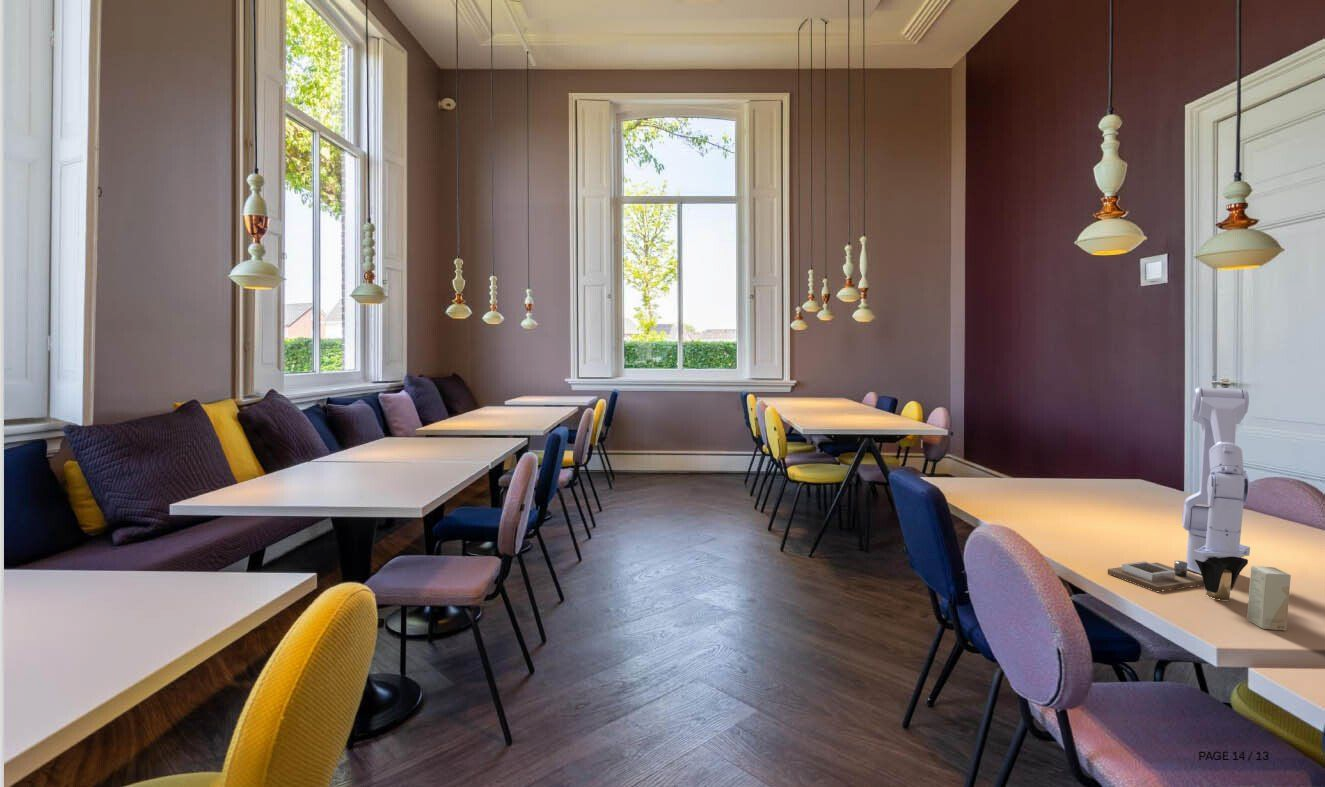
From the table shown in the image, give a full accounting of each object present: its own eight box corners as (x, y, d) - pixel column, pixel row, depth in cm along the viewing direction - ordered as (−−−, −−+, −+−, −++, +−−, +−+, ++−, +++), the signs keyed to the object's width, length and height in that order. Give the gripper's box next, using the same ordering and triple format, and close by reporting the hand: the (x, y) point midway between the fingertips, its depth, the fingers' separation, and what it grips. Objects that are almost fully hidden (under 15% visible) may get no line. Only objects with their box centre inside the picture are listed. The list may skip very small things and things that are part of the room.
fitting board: (1156, 567, 172) (1158, 550, 172) (1208, 584, 161) (1209, 566, 160) (1107, 573, 167) (1108, 556, 166) (1157, 592, 156) (1158, 573, 155)
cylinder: (1214, 592, 156) (1216, 566, 155) (1234, 599, 152) (1236, 572, 151) (1201, 594, 154) (1204, 568, 154) (1221, 601, 151) (1223, 574, 150)
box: (1287, 631, 136) (1292, 575, 135) (1261, 629, 137) (1266, 573, 136) (1269, 620, 141) (1275, 566, 140) (1245, 618, 142) (1250, 564, 141)
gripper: (1220, 536, 146) (1214, 600, 147) (1267, 531, 150) (1261, 592, 151) (1185, 527, 152) (1180, 588, 153) (1232, 522, 157) (1226, 581, 158)
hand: (1218, 589), depth 153 cm, fingers closed on cylinder, 4 cm apart
